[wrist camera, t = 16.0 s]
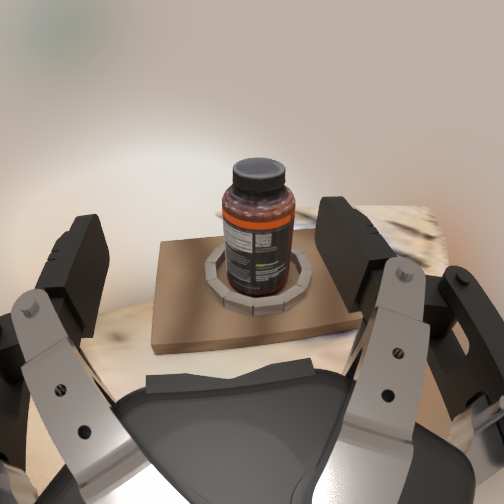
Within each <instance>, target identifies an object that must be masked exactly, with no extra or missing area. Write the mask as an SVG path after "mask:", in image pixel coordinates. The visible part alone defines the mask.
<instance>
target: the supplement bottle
mask: <svg viewBox="0 0 504 504" xmlns="http://www.w3.org/2000/svg"><path fill="white" fill-rule="evenodd" d="M284 183H285V167H284V165H283V164H281V163H280V162H278V161H275V160H272V159H268V158H248V159H244V160H241V161H239V162H237V163H236V164H235V165H234V166H233V184H232V185H231V186H230V187H229V188H228V189H227V190H226V192H225V193H224V195H223V198H222V212H223V214H222V215H223V229H224V244H225V258H226V270H227V277H228V280H229V282H230V284H231V285H232V286H233V287H234V288H235V289H237V290H238V291H240V292H242V293H245V294H248V295H255V296H262V295H268V294H271V293H274V292H276V291H278V290H279V289H280V288H282V287H283V285H284V284H285V283H286V281H287V279H288V274H289V268H290V258H291V248H292V238H293V228H294V218H295V198H294V195H293V193H292V192H291V190H290V189H289V188H288V187H286V186H285V185H284Z"/></svg>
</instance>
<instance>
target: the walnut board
mask: <svg viewBox="0 0 504 504" xmlns="http://www.w3.org/2000/svg"><path fill="white" fill-rule="evenodd" d="M362 317H363V314H362V312H361V311H360V312H355V313H348V311H347V308H346V306H345V304H344V302H343V300H342V298H341V296H340V294H339V292H338V290H337V288H336V286H335V284H334V282H333V280H332V277H331V275H330V273H329V271H328V269H327V267H326V265H325V264H324V262H323V260H322V258H321V256H320V254H319V252H318V250H317V248H316V244H315V228H314V229H301V230H293V238H292V248H291V258H290V268H289V274H288V279H287V281H286V283H285V284H284V285H283V287H282V288H280V289H279V290H278V291H276V292H274V293H271V294H268V295H262V296H255V295H248V294H245V293H242V292H240V291H238V290H237V289H235V288H234V287H233V286H232V285H231V284H230V282H229V280H228V277H227V270H226V258H225V244H224V236H217V237H206V238H195V239H185V240H174V241H163V242H161V244H160V253H159V260H158V269H157V277H156V287H155V297H154V308H153V321H152V336H151V346H152V348H153V351H154V353H155V355H156V354H174V353H188V352H200V351H211V350H221V349H231V348H240V347H248V346H256V345H264V344H271V343H278V342H285V341H291V340H298V339H304V338H310V337H316V336H321V335H327V334H332V333H338V332H343V331H348V330H353V329H358V328H359V325H360V322H361V320H362Z"/></svg>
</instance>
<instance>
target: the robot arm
mask: <svg viewBox="0 0 504 504" xmlns="http://www.w3.org/2000/svg"><path fill="white" fill-rule="evenodd" d="M315 244H316V248H317V250H318V252H319V254H320V256H321V258H322V260H323V262H324V264H325V265H326V267H327V269H328V271H329V273H330V275H331V277H332V280H333V282H334V284H335V286H336V288H337V290H338V292H339V294H340V296H341V298H342V300H343V302H344V304H345V306H346V308H347V311H348V313H355V312H360V311H361V312H362V314H363V317H362V320H361V322H360V325H359V328H358V331H357V334H356V337H355V340H354V343H353V346H352V349H351V352H350V355H349V358H348V360H347V363H346V365H345V368H344V370H343V372H342V374H339V373H336V372H332V371H328V370H322V369H314V368H313V364H312V361H311V358H306V359H300V360H294V361H288V362H282V363H275V364H270V365H268V366H265V367H263V368H260V369H257V370H255V371H252V372H250V373H247V374H244V375H241V376H239V377H236V378H233V379H222V378H214V377H207V376H200V375H193V374H187V373H184V374H167V375H146V387H143V388H140V389H138V390H136V391H133V392H131V393H129V394H127V395H126V396H124V397H123V398H121V399H120V400H118V401H116V400H115V398H114V397H113V396H112V395H111V393H110V392H109V391H108V389H107V388H106V386H105V385H104V383H103V382H102V380H101V379H100V377H99V376H98V374H97V373H96V371H95V370H94V368H93V366H92V365H91V363H90V362H89V360H88V358H87V357H86V355H85V353H84V352H83V350H82V349H81V347H80V342H81V338H93V334H94V329H95V324H96V319H97V314H98V309H99V305H100V300H101V296H102V291H103V287H104V283H105V279H106V275H107V271H108V268H109V261H110V260H109V259H110V258H109V250H108V246H107V243H106V240H105V237H104V233H103V230H102V227H101V223H100V220H99V217H98V216H97V214H91V215H83V216H77V217H76V218H75V220H74V222H73V224H72V226H71V228H70V230H69V231H67V232H65V233H64V234H63V235H62V236H61V237H60V238H59V239H58V240H57V241H56V243H55V245H54V247H53V249H52V251H51V252H52V253H50V255H49V257H48V259H47V260H48V261H47V262H46V263H45V266H44V268H43V270H42V272H41V275H40V277H39V279H38V281H37V284H36V286H35V289H33V290H30V291H27V292H25V293H24V294H22V295H21V296H20V297H19V298H18V299H17V300H16V302H15V303H14V305H13V307H12V311H11V313H8V314H5V315H3V316H0V504H473V500H474V494H475V488H476V486H478V485H479V484H481V483H482V482H484V481H485V480H487V479H488V478H489V477H491V476H492V475H493V474H495V473H496V472H498V471H499V470H500V469H502V468H503V467H504V321H503V319H502V318H501V316H500V315H499V313H498V311H497V310H496V308H495V307H494V305H493V304H492V302H491V301H490V299H489V298H488V296H487V295H486V293H485V292H484V290H483V289H482V287H481V286H480V285H479V283H478V282H477V280H476V279H475V278H474V276H473V275H472V274H471V273H470V272H468V271H467V270H466V269H464V268H462V267H458V266H449V267H447V268H446V270H445V272H444V274H443V276H442V277H437V276H430V275H425V273H424V271H423V270H422V268H421V267H420V266H419V265H417V264H416V263H415V262H413V261H411V260H409V259H407V258H403V257H397V256H396V254H395V253H394V251H393V250H392V249H391V247H390V246H389V245H388V243H387V242H386V241H385V239H384V238H383V237H382V236H381V234H379V232H378V230H377V229H376V228H375V227H373V224H372V223H371V221H370V220H369V219H368V218H367V216H365V215H364V214H362V213H361V212H359V211H358V210H356V209H353V208H352V207H351V206H350V204H349V203H348V202H347V201H346V199H345V198H344V197H342V196H341V197H340V196H338V197H322V199H321V201H320V205H319V211H318V217H317V222H316V228H315ZM457 321H458V322H459V324H460V325H461V327H462V329H463V331H464V333H465V334H466V336H467V338H468V340H469V351H468V354H467V355H465V353H464V351H463V349H462V348H461V346H460V344H459V342H458V340H457V338H456V336H455V335H454V332H453V331H452V328H453V327H454V325H455V324H456V323H457ZM426 361H427V363H428V365H429V367H430V369H431V371H432V374H433V376H434V378H435V381H436V383H437V385H438V388H439V390H440V393H441V395H442V398H443V400H444V403H445V405H446V408H447V410H448V413H449V416H450V418H451V421H452V425H451V433H450V434H449V435H448V436H447V441H445V440H444V439H442V438H440V437H439V436H437V435H436V434H434V433H432V432H431V431H429V430H428V429H426V428H424V427H423V426H421V425H420V424H418V423H416V422H415V421H416V417H417V412H418V408H419V403H420V397H421V392H422V387H423V381H424V375H425V368H426ZM30 394H31V396H32V398H33V401H34V403H35V405H36V408H37V410H38V412H39V414H40V416H41V418H42V420H43V423H44V425H45V427H46V429H47V431H48V433H49V434H50V436H51V438H52V440H53V442H54V444H55V446H56V447H57V449H58V451H59V453H60V455H61V456H62V458H63V460H64V461H65V465H64V466H63V467H62V468H61V470H60V471H59V472H58V473H57V475H56V476H55V477H54V478H53V480H52V481H51V482H50V483H49V485H48V486H47V487H46V489H45V490H44V491H43V492H42V494H41V495H40V496H39V497H38V492H37V490H36V488H35V487H34V486H33V485H32V484H31V482H30V479H29V478H28V476H27V475H26V435H27V421H28V410H29V401H30ZM37 498H38V499H37Z"/></svg>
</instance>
